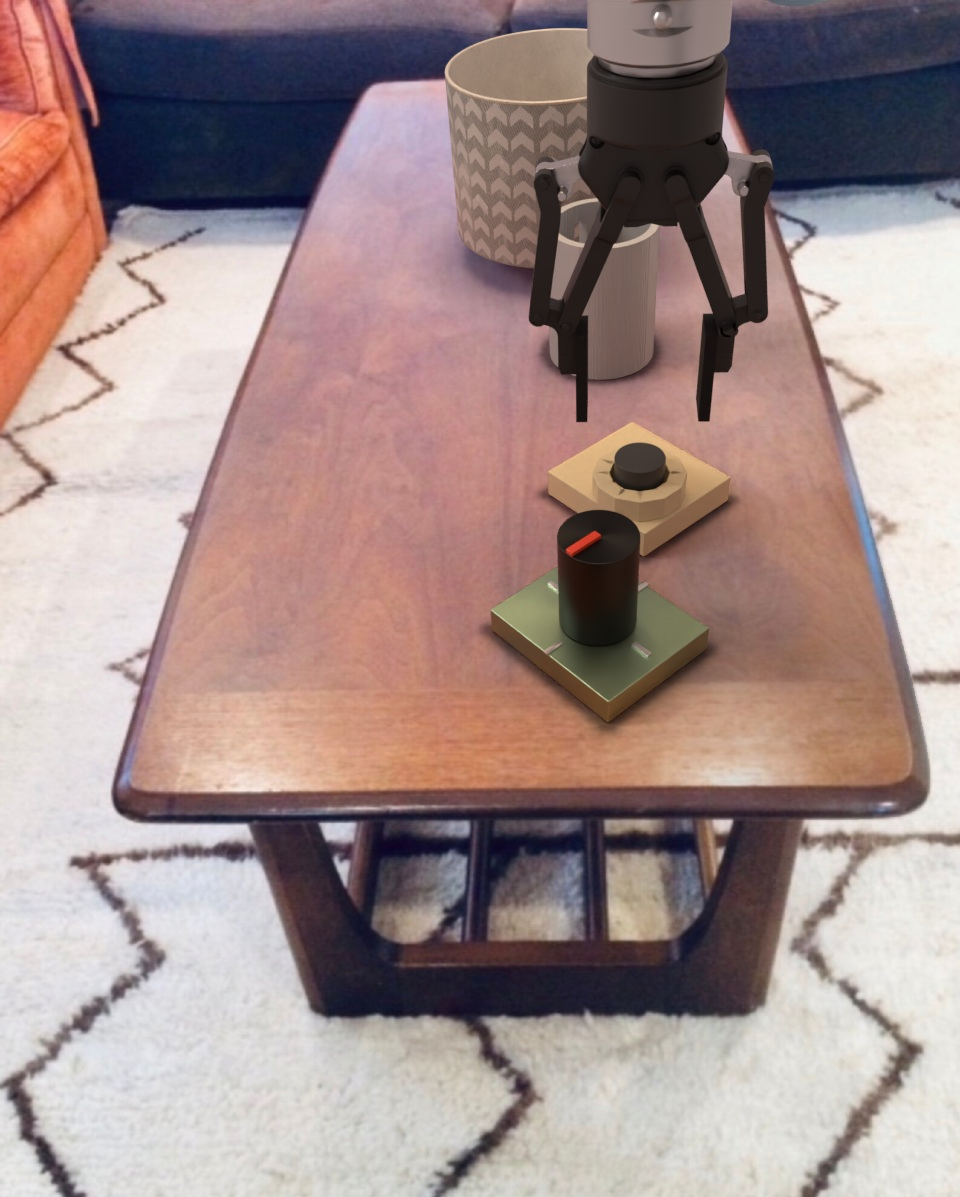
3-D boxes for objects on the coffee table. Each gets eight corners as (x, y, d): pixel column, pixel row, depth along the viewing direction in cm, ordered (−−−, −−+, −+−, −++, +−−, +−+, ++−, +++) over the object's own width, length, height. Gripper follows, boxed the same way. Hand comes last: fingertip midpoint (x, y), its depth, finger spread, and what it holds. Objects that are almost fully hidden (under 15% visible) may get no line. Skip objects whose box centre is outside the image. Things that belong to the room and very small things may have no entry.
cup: (621, 390, 93) (624, 258, 84) (530, 362, 97) (525, 233, 88) (671, 339, 98) (679, 210, 90) (583, 315, 102) (583, 189, 94)
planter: (469, 307, 104) (452, 112, 92) (453, 219, 118) (437, 39, 106) (666, 285, 105) (677, 88, 92) (628, 200, 119) (633, 19, 106)
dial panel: (708, 648, 71) (710, 625, 70) (606, 724, 67) (607, 701, 66) (589, 566, 77) (589, 543, 76) (490, 631, 73) (488, 608, 72)
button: (675, 476, 78) (676, 457, 77) (639, 499, 77) (640, 479, 75) (638, 455, 80) (639, 435, 79) (603, 476, 79) (603, 457, 78)
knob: (598, 580, 73) (599, 494, 68) (652, 618, 70) (658, 532, 65) (543, 616, 71) (539, 531, 66) (597, 658, 68) (597, 572, 63)
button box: (728, 500, 82) (733, 457, 79) (641, 558, 78) (643, 515, 75) (631, 444, 87) (632, 401, 85) (545, 495, 83) (544, 453, 81)
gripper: (462, 86, 57) (489, 443, 73) (864, 70, 55) (802, 442, 71) (474, 37, 62) (497, 381, 78) (842, 21, 60) (788, 378, 76)
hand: (642, 409), depth 75 cm, fingers open, 7 cm apart
